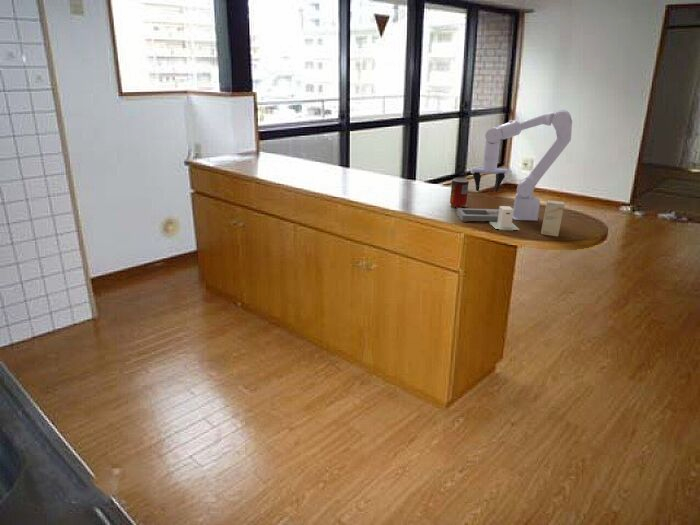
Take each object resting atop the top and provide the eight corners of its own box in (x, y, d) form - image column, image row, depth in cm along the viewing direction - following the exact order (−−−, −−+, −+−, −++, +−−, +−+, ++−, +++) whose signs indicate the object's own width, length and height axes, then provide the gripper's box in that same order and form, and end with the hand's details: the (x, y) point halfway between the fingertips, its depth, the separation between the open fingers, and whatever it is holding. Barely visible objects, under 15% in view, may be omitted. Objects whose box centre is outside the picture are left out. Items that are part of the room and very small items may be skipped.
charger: (507, 223, 199) (509, 206, 196) (511, 227, 194) (513, 209, 191) (497, 223, 198) (499, 206, 196) (500, 227, 194) (503, 209, 191)
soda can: (469, 206, 224) (472, 178, 219) (459, 209, 219) (462, 181, 215) (455, 203, 228) (458, 176, 224) (446, 206, 224) (448, 178, 219)
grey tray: (502, 215, 212) (502, 208, 211) (509, 222, 202) (510, 215, 201) (456, 213, 212) (457, 206, 211) (461, 221, 202) (462, 214, 201)
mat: (512, 223, 201) (512, 222, 200) (519, 230, 192) (519, 229, 192) (489, 223, 200) (489, 221, 200) (495, 230, 192) (495, 228, 192)
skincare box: (540, 234, 189) (546, 202, 184) (541, 231, 192) (546, 199, 188) (558, 236, 187) (564, 204, 182) (558, 233, 190) (564, 201, 186)
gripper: (475, 159, 202) (471, 192, 207) (511, 160, 203) (506, 193, 207) (471, 156, 209) (467, 188, 214) (506, 157, 209) (501, 189, 214)
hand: (486, 191), depth 211 cm, fingers open, 7 cm apart
